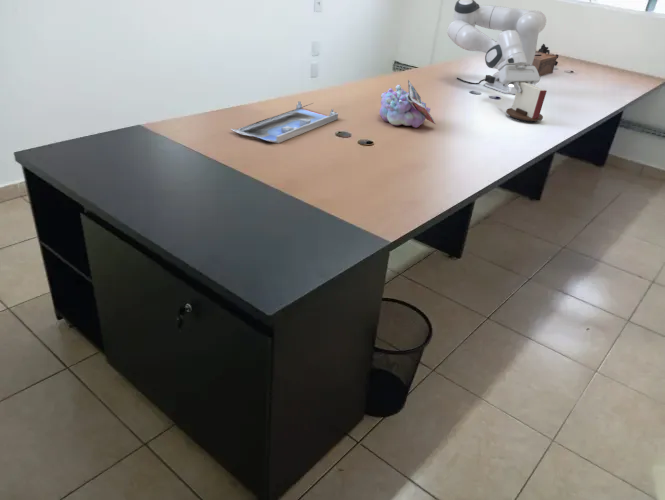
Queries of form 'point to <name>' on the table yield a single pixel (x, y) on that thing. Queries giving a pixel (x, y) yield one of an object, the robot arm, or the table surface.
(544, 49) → the tablet mount
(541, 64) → the tissue box cover
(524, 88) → the upright block on disc
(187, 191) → the table surface
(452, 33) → the robot arm
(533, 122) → the stand base
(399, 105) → the lilac bumpy lump
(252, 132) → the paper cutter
